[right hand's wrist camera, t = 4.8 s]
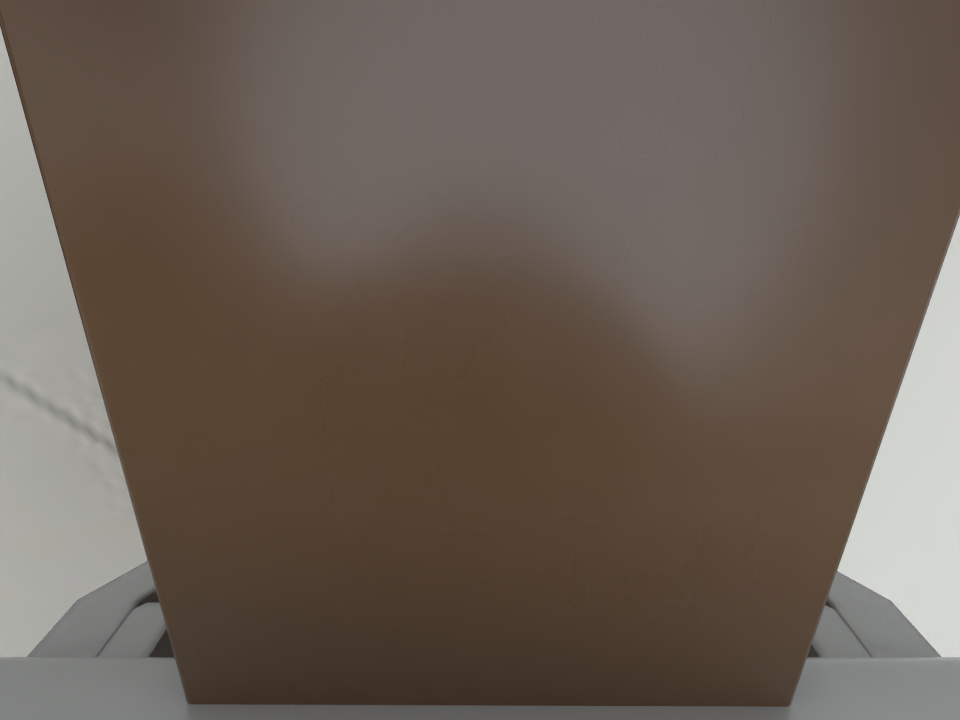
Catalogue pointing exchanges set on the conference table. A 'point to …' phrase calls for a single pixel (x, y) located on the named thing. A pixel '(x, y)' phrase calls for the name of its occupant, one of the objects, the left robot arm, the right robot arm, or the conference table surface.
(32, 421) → the conference table surface
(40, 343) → the conference table surface
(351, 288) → the bar
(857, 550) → the conference table surface
